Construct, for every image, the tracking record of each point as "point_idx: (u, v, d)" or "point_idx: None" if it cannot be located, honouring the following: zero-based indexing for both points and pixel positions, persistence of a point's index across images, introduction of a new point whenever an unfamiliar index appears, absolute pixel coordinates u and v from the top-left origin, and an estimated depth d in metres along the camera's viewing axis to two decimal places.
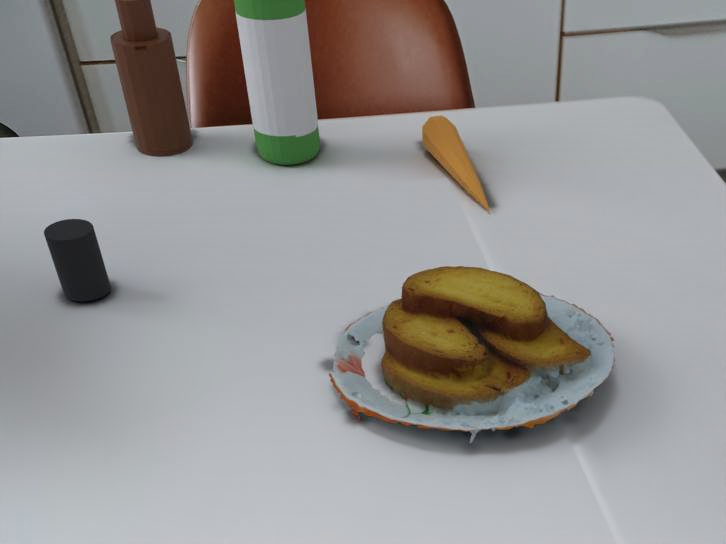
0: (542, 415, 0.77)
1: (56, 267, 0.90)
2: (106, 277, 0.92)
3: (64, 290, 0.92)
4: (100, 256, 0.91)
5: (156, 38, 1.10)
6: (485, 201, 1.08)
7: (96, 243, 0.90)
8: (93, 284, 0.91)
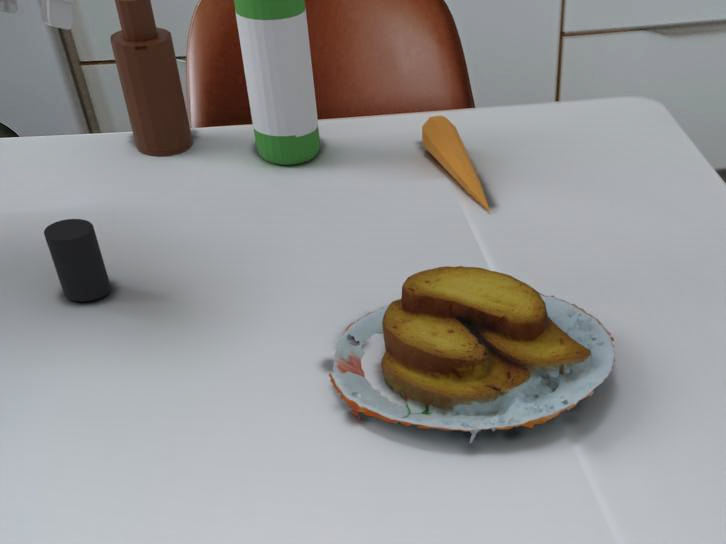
0: (542, 415, 0.77)
1: (56, 267, 0.90)
2: (106, 277, 0.92)
3: (64, 290, 0.92)
4: (100, 256, 0.91)
5: (156, 38, 1.10)
6: (485, 201, 1.08)
7: (96, 243, 0.90)
8: (93, 284, 0.91)
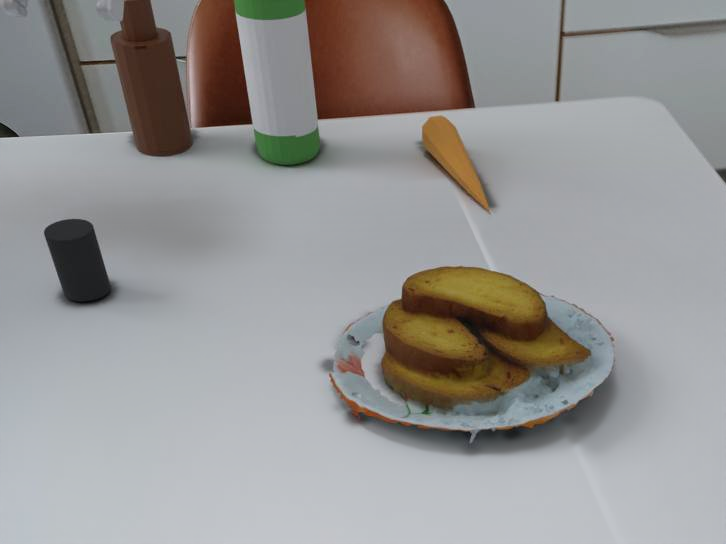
0: (542, 415, 0.77)
1: (56, 267, 0.90)
2: (106, 277, 0.92)
3: (64, 290, 0.92)
4: (100, 256, 0.91)
5: (156, 38, 1.10)
6: (485, 201, 1.08)
7: (96, 243, 0.90)
8: (93, 284, 0.91)
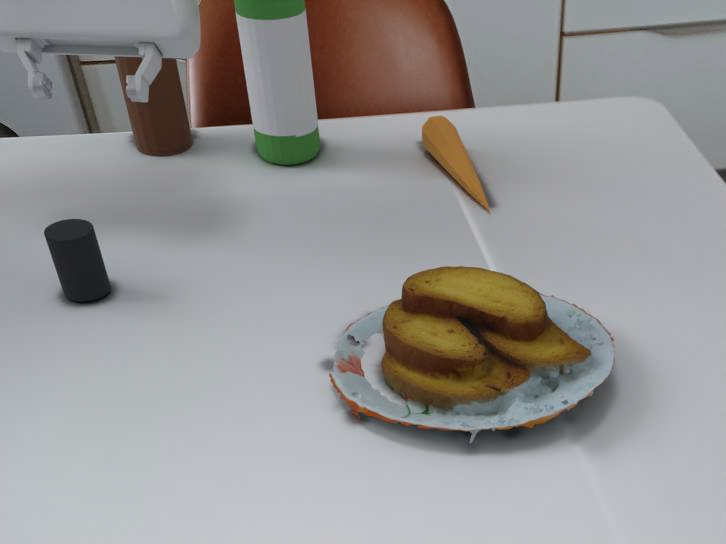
0: (542, 415, 0.77)
1: (56, 267, 0.90)
2: (106, 277, 0.92)
3: (64, 290, 0.92)
4: (100, 256, 0.91)
5: None
6: (485, 201, 1.08)
7: (96, 243, 0.90)
8: (93, 284, 0.91)
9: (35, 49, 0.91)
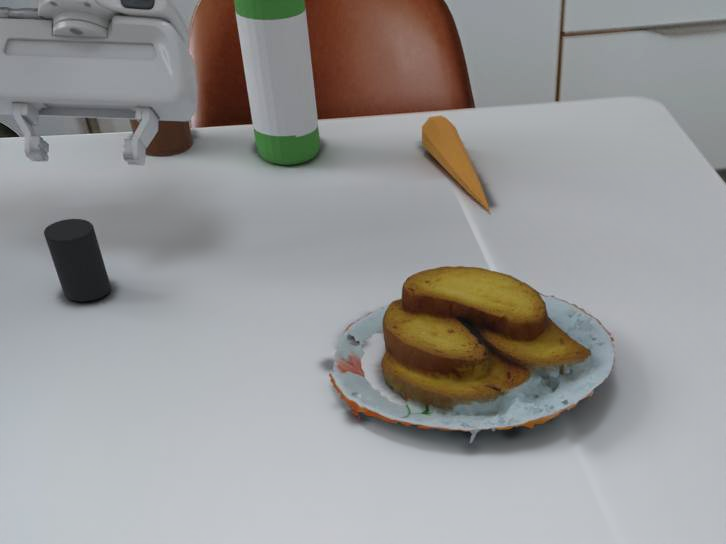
0: (542, 415, 0.77)
1: (56, 267, 0.90)
2: (106, 277, 0.92)
3: (64, 290, 0.92)
4: (100, 256, 0.91)
5: None
6: (485, 201, 1.08)
7: (96, 243, 0.90)
8: (93, 284, 0.91)
9: (32, 112, 0.91)
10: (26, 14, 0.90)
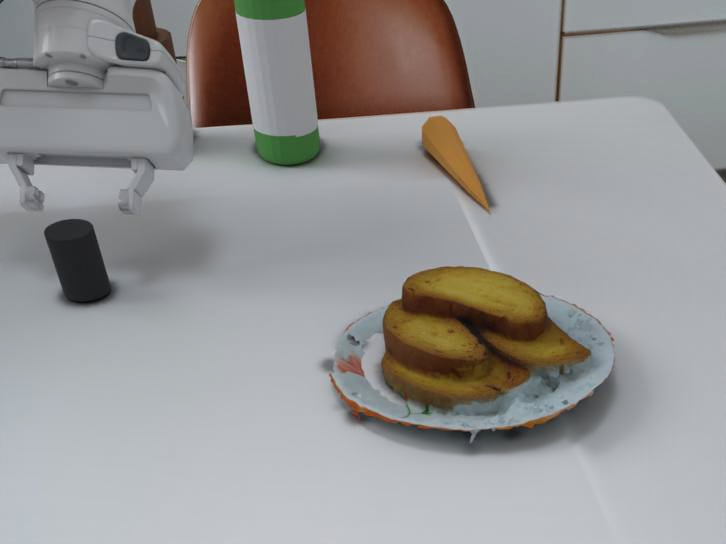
0: (542, 415, 0.77)
1: (56, 267, 0.90)
2: (106, 277, 0.92)
3: (64, 290, 0.92)
4: (100, 256, 0.91)
5: (156, 38, 1.10)
6: (485, 201, 1.08)
7: (96, 243, 0.90)
8: (93, 284, 0.91)
9: (27, 162, 0.91)
10: (21, 64, 0.90)
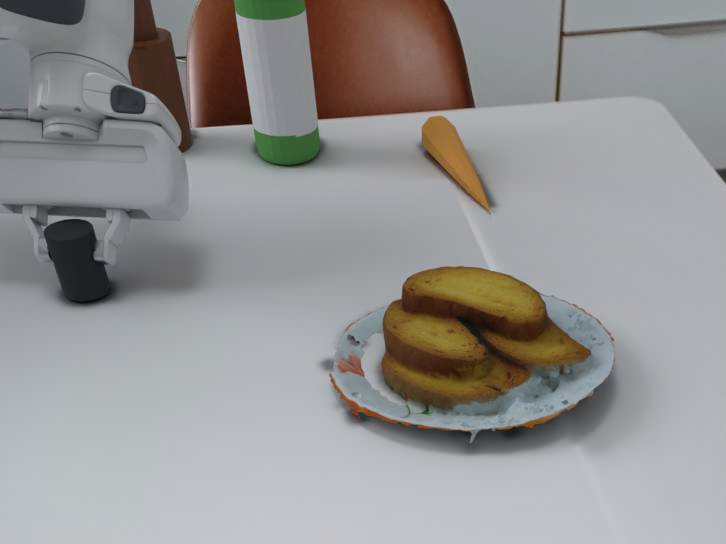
0: (542, 415, 0.77)
1: (56, 267, 0.90)
2: (106, 277, 0.92)
3: (64, 290, 0.92)
4: None
5: (156, 38, 1.10)
6: (485, 201, 1.08)
7: None
8: (93, 284, 0.91)
9: (41, 214, 0.90)
10: (16, 115, 0.89)
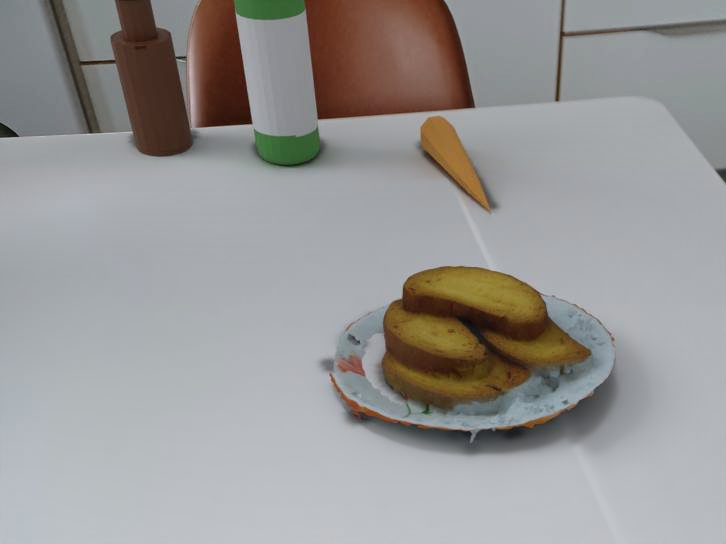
0: (542, 415, 0.77)
1: None
2: None
3: None
4: None
5: (156, 38, 1.10)
6: (485, 201, 1.08)
7: None
8: None
9: None
10: None
